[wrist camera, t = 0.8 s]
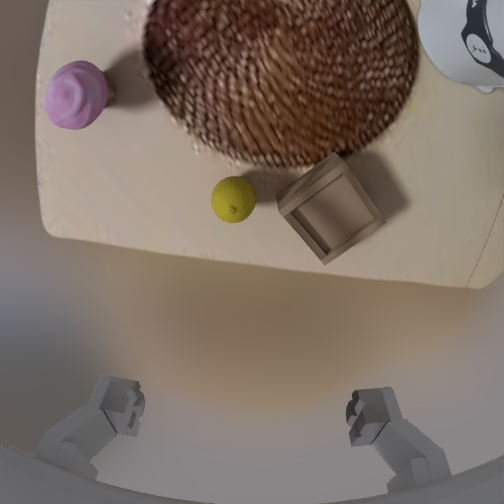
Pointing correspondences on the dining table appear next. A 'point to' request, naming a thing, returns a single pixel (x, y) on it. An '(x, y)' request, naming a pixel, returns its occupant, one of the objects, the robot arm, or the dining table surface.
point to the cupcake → (77, 95)
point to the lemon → (233, 199)
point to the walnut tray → (329, 209)
